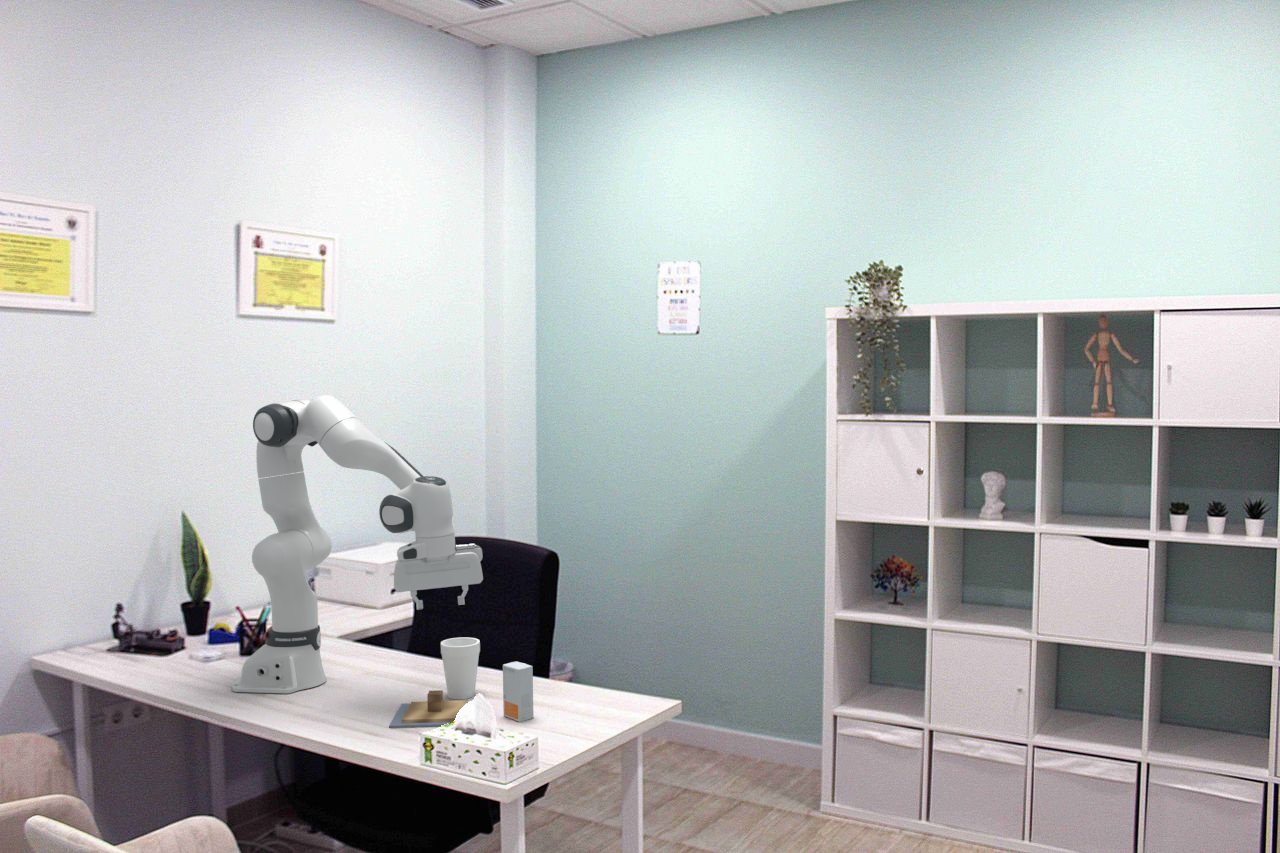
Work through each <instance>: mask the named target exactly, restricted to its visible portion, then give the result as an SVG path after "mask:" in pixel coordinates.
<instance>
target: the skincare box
mask: <svg viewBox="0 0 1280 853" xmlns="http://www.w3.org/2000/svg"><path fill="white" fill-rule="evenodd" d="M533 670H534V669H533V665H530V664H527V663H524V662H520V661H511V662H508V663H504V664H502V695H503V696H502V701H503V704H502V705H503V706H502V708H503V711H502V712H503V717H506V718H509V719H511V720H514V721H517V722H519V723H521V722H525V721H527V720H531V719H534V676H533V674H534V673H533Z"/></svg>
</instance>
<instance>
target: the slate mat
mask: <svg viewBox="0 0 1280 853" xmlns="http://www.w3.org/2000/svg"><path fill="white" fill-rule="evenodd" d="M410 704H411V702H408V703H407V702H404V703H401V704H400V706H399V707H398V710H397V711H396V713H395V715H394V716H393V717H392V720H391V722H390V723H389V725H388V728H389V729H395V728H396V729H398V728H399V729H400V728H401V729H402V728H405V729H407V728H434V727H435V728H438V727H439V726H441V725H444V724H447V723H450V722H429V723H402V718H403V716H404V714H405V713H406V711H407V709H408V707H409V705H410Z"/></svg>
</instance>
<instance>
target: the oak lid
mask: <svg viewBox="0 0 1280 853" xmlns="http://www.w3.org/2000/svg"><path fill="white" fill-rule="evenodd" d="M443 691H444V690H442V689H440V690H439V689H438V690H429V691H428V692H427V695H426V696H427V698H426V699H427V700H426V701H411V702H410V703H411V704H410V705H409V707H408V709H407V711H406V713H405V714H404V716H403V718H402V723H429V722H453V721H454V720H455V718H456V715H457V713H458V712H459V710H460V709H461V708H462V707H463V706H464V705H465V704H466V703H468V702H469V701H468V700H467V699H461V700H444V696H443V695H444V693H443Z"/></svg>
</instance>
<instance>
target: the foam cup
mask: <svg viewBox="0 0 1280 853" xmlns="http://www.w3.org/2000/svg"><path fill="white" fill-rule="evenodd" d="M480 652H481V642H480V639H478V638H476V637H470V636H469V637H467V636H466V637H461V636H460V637H459V636H458V637H452V638H451V637H450V638H447V639H444V640H441V641H440V654H441V658H442V664H443V671H444V678H445V684H446V689H447V690H446V691H447V697H448V698H450V699H453V700H467V699H470V698H473V697H474V696H475V692H476V687H477V686H476V685H477V675H478V667H479V666H478V665H479V656H480Z"/></svg>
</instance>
